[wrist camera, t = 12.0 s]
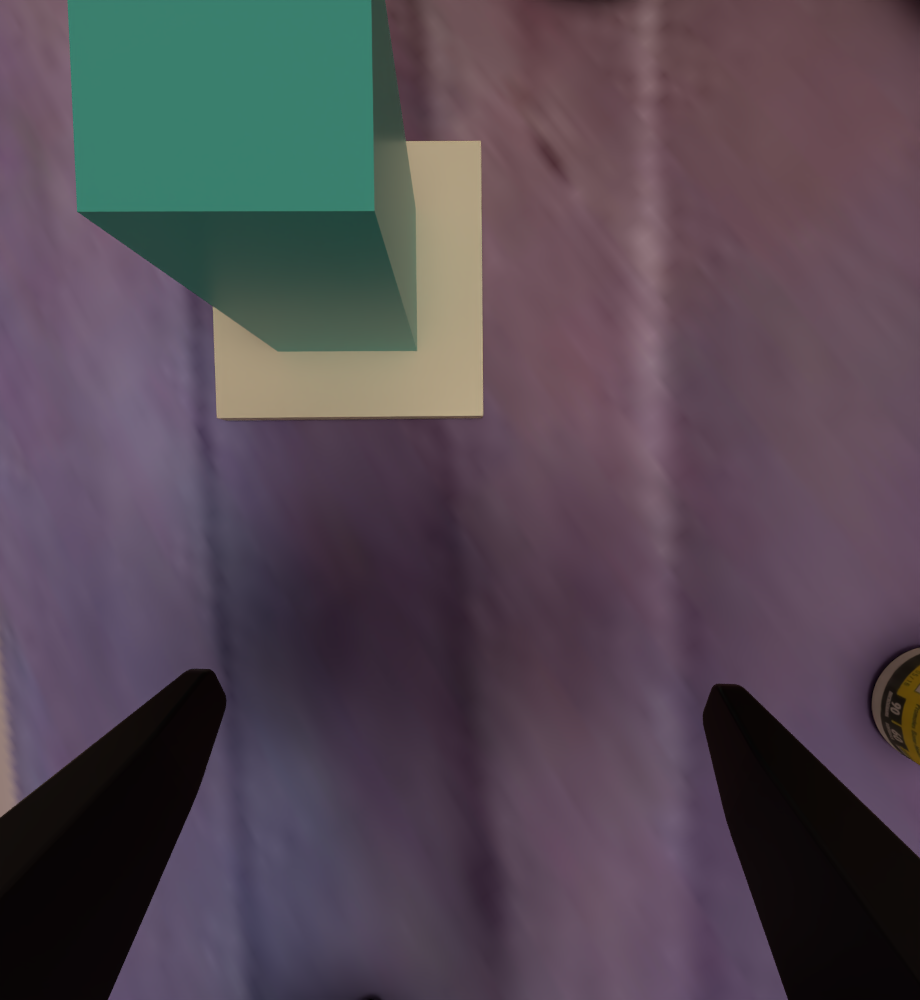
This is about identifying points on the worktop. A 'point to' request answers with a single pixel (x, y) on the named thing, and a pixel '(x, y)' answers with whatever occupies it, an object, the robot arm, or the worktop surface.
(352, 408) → the post block
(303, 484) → the worktop surface
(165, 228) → the teal square pillar
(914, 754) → the supplement bottle
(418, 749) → the worktop surface
